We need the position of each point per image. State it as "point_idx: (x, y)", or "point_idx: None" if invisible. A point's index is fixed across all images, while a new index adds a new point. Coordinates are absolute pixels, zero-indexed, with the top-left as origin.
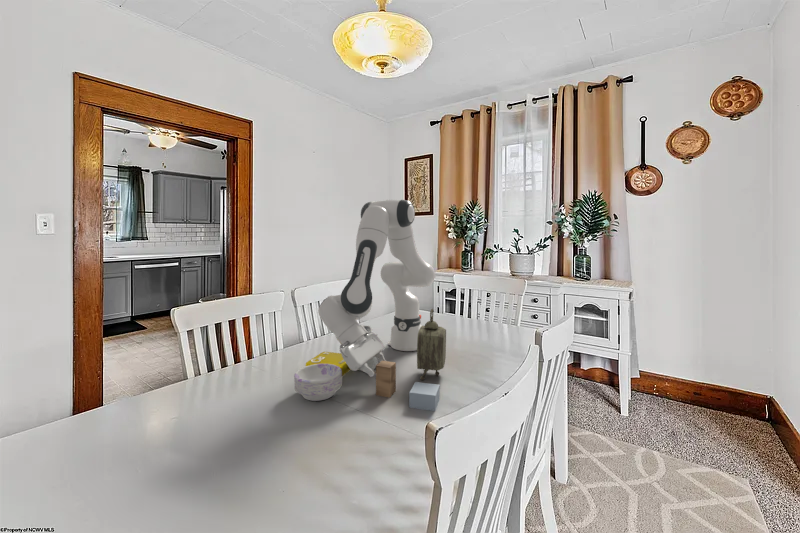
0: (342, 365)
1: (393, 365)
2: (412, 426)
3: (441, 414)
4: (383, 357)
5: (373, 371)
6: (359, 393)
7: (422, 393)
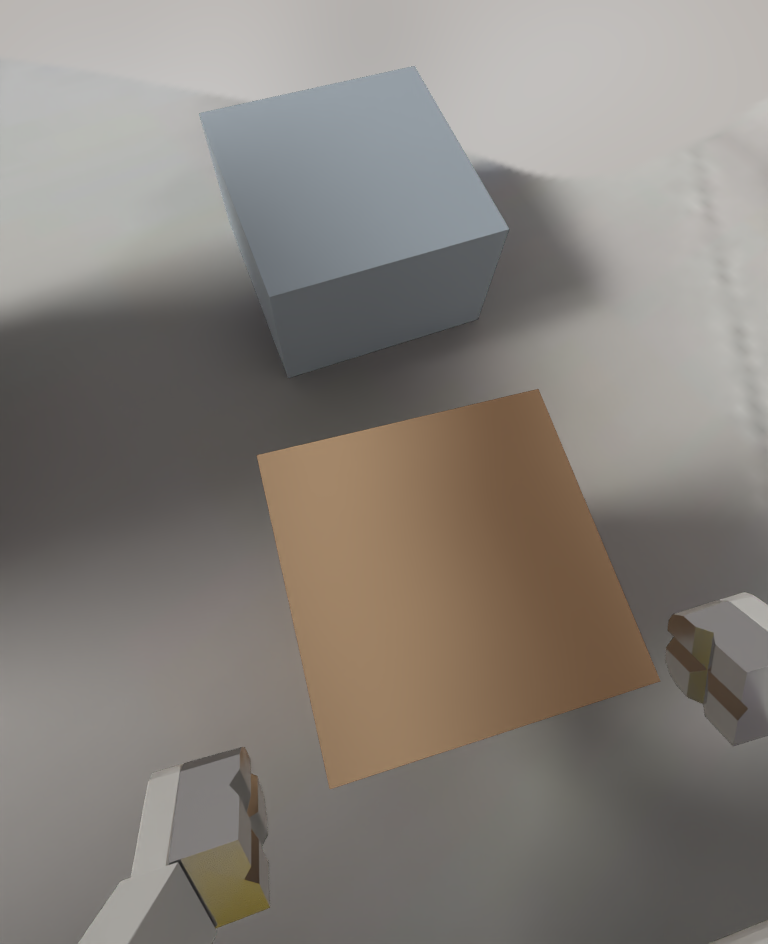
0: None
1: (383, 430)
2: (649, 196)
3: None
4: (122, 923)
5: (746, 623)
6: (586, 864)
7: (449, 145)
